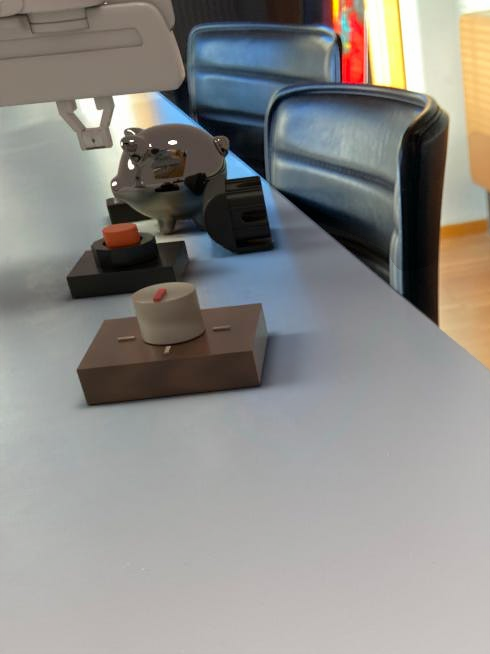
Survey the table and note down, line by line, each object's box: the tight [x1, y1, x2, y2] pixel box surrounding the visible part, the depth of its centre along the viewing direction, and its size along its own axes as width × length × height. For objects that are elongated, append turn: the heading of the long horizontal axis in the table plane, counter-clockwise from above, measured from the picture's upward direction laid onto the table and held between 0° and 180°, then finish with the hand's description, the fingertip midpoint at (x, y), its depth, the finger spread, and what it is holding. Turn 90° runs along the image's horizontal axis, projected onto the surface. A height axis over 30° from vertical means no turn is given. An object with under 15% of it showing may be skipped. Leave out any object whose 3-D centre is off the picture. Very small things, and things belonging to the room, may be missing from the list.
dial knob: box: [131, 281, 205, 345], centre depth 85 cm, size 5×5×4 cm
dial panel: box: [75, 302, 269, 406], centre depth 87 cm, size 14×12×3 cm
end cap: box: [203, 173, 274, 254], centre depth 117 cm, size 10×7×7 cm
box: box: [65, 231, 190, 299], centre depth 109 cm, size 11×10×4 cm
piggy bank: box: [110, 122, 230, 235], centre depth 124 cm, size 11×15×12 cm
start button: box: [101, 222, 141, 247], centre depth 108 cm, size 4×4×2 cm
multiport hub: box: [105, 196, 152, 225], centre depth 133 cm, size 4×11×2 cm, turn 108°
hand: (97, 148), depth 103 cm, fingers closed
